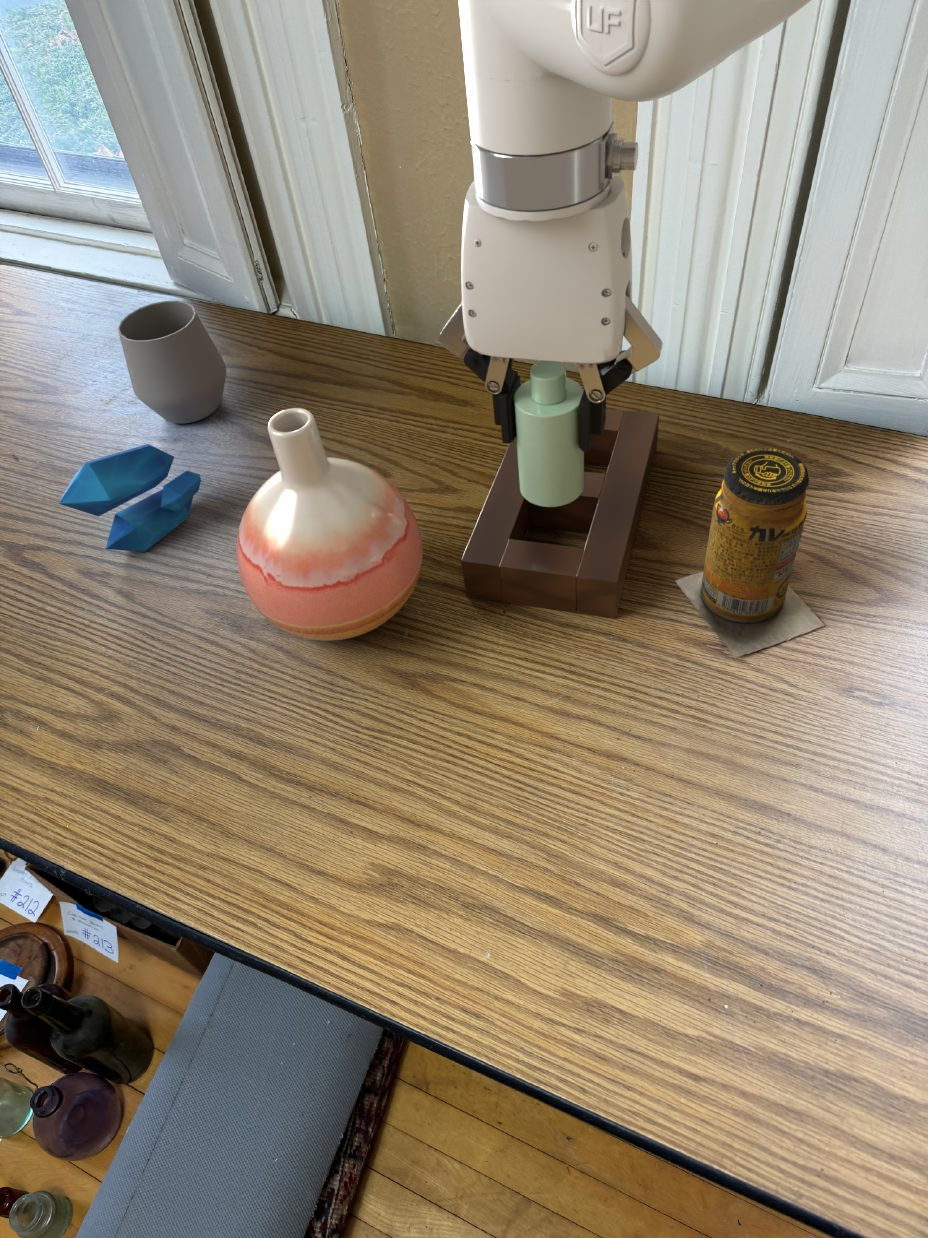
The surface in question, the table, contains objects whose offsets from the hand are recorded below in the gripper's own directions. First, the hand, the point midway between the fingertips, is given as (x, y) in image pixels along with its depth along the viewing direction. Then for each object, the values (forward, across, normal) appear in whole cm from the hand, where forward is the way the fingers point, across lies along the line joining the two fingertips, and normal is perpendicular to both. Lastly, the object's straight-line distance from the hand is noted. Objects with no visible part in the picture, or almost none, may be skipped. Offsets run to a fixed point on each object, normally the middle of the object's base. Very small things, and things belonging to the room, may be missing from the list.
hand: (550, 433), depth 60 cm
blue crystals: (+12, +36, +4) cm, 38 cm away
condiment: (+12, -15, +3) cm, 20 cm away
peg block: (+12, 0, -4) cm, 13 cm away
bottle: (+5, 0, 0) cm, 5 cm away
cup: (+12, +42, -14) cm, 46 cm away
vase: (+12, +15, +9) cm, 21 cm away
